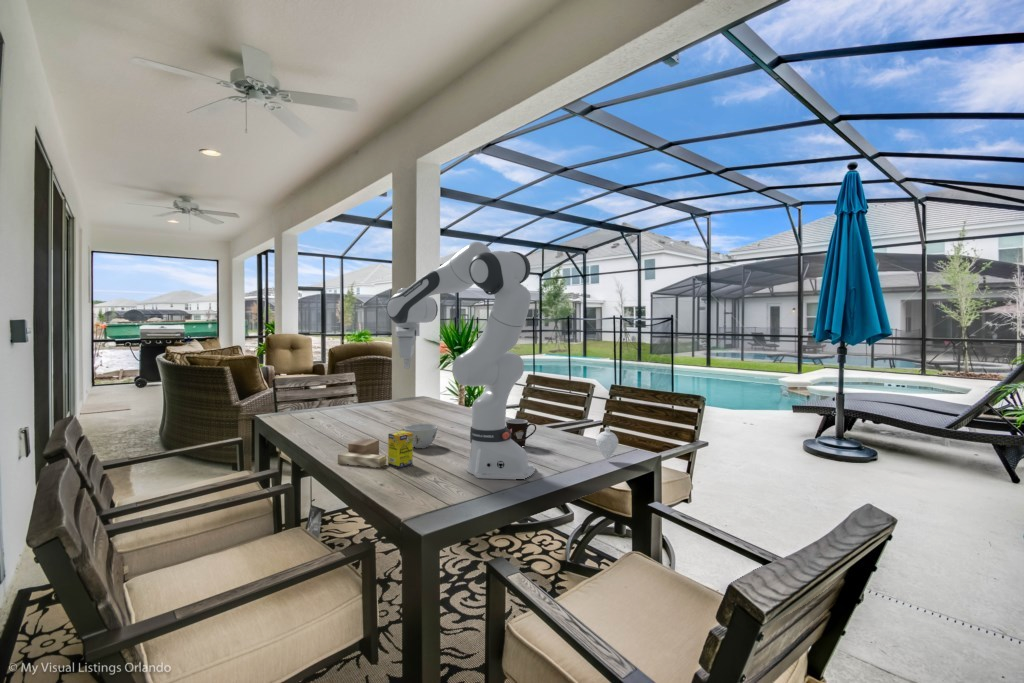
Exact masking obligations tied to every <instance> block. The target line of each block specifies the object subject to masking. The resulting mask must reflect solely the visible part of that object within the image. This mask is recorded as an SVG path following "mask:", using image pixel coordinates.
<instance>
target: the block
mask: <svg viewBox="0 0 1024 683" xmlns="http://www.w3.org/2000/svg"><path fill="white" fill-rule="evenodd" d="M347 449H348V451H347V452H353V453H363V454H374V455H380V440H379V439H371V438H360V439H357V440H355V441H352V442H349V443H348V448H347Z"/></svg>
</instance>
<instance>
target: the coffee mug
mask: <svg viewBox="0 0 1024 683" xmlns="http://www.w3.org/2000/svg"><path fill="white" fill-rule="evenodd" d="M505 426H506V427H507V428H508V429H509V430H510V429H512V432H511V439H512V440H513V441H514V442H516V443H517V444H518V445H519V446H520V447H522V446H525V447H526V442H527V441H526V440H527V439H529V438H530V437H531V436H532V435H534V433H535V432H536V431H537V426H536V424H535V423H532V422H531V423H529V421H528V420H527V419H523V418H510V419H505ZM530 426H534V430H533V432H531V433H530V434H528V435H527V431H528V428H529V427H530Z"/></svg>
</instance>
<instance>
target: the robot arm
mask: <svg viewBox="0 0 1024 683" xmlns="http://www.w3.org/2000/svg"><path fill="white" fill-rule="evenodd" d="M530 275H531V262H530V261H529V258H527V256H526V255H525V254H523V253H521V252H518V251H513V250H512V251H505V250H504V251H503V250H496V251H491V250H490V248H489V247H488V246H487V245H486V244H485V243H483V242H481V241H473V242H470V243H468V244H467V245H466V246H464V247H463V248H461V249H460V250H458V251H457V252H456V253H454V255H453V256H452V257H451V258H449V260H447V261H446V262H445V263H443V264H442V265H440V266H438V267H437V268H435V269H432V270H431V271H430V272H428V273H425V274H424V275H423V276H421V277H420V278H419V279H417V280H416V281H415V282H413V283H412V284H411V285H410V286H407V287H406V286H405V287H402V288H399V289H398V290H397V292H396V293H395V294H393V295H392V296H391V297H390V298H389V300H388V302H387V303H386V313H387V316H388V317H389V318H390V320H391V321H392V322H393V323H394V325H395V327H394V332H395V333H394V336H396V337H397V343H398V352H399V357H400V358H401V359H403V362H404V369H406V370H409V369H410V368H411V359H412V357H413V355H414V354H415V341H417V337H420V324H422V323H425V324H426V323H430V322H431V323H432V322H433V321H434V320H435V319H436V318H437V316H438V311H439V310H438V309H439V308H438V306H439V305H438V303H437V301H436V300H435V299H434V298H433V297H431V296H434V295H441V294H455V293H456V294H457V293H462V292H463V291H466V290H468V289H469V288H471V287H472V286H474V285H476V287H478V288H480V289H481V290H482V291H484V293H485V294H487V295H489V296H491V295H494V301H493V305H492V307H491V310H490V314H489V316H488V318H487V321H486V324H485V326H484V329H483V331H482V333H481V334H480V336H479V337H478V339H477V340H476V341H475V342H474V343H473V345H471V347H469V349H467V350H465V351H464V352H463V353H461V354H459V355H458V356H456V358H455V359H454V361H453V364H452V367H451V370H452V371H451V372H452V376H453V378H454V380H455V381H456V382H457V384H458V385H461V386H465V387H473V388H474V387H483V386H484V390H483V392H482V393H481V395H480V396H478V397H476V398H475V399H474V401H473V402H472V406H471V426H470V430H469V431H470V432H469V441H470V451H469V458H468V461H467V462H468V463H467V466H466V471H467V472H468V473H470V474H471V475H473V476H474V477H475V478H476V479H489V480H490V479H492V480H500V479H501V480H516V479H524V480H526V479H525V478H527V477H529V476H531V475H532V474H533V473H534V474H535V472H536V467H535V465H534V464H533V463H529V457H528V453H527V451H526V449H524V448H522V447H520V446H519V445H518V444H517V443H516V442H514V441H513V440H512V439H511V432H512V429H510V430H509V429H508V428H507V426H506V420H507V419H506V416H507V414H506V412H507V403H508V399H509V396H510V394H511V391H512V389H513V388H514V386H515V384H517V382H518V381H520V379H521V378H522V376H523V375H524V370H525V364H524V361H523V359H522V357H521V355H519V354H518V353H516V352H511V350H512V349H514V348H515V346H516V345H517V344H518V341H519V339H520V336H521V333H522V331H523V329H524V325H525V323H526V319H527V318H528V314H529V310H530V306H531V305H530V304H531V298H532V295H531V293H530V291H529V289H528V288H527V287H526V286H524V285H522V284H523V283H524V282H525V281H526V280H528V278H529V276H530ZM534 471H535V472H534ZM534 474H533V475H534ZM533 475H532V476H533ZM532 476H531V477H532ZM529 478H530V477H529ZM527 479H528V478H527Z"/></svg>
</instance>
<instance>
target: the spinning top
mask: <svg viewBox="0 0 1024 683" xmlns="http://www.w3.org/2000/svg"><path fill="white" fill-rule="evenodd" d="M595 441H596V442H595V444H596V446H597V448H598V450H599V451H600V453H601V455H602V456H603V457H604V459H605V460H606V459H607V460H609V459H610V458H611V456H612V455H613V454H614V452H615V451H616V449H617V448H618V445H619V438H618V436H617V435H616V434H615V433H614V432H612V431H611V427H604V431H602V432H600V433H599V434H598V435H597V436H596V440H595Z"/></svg>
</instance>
